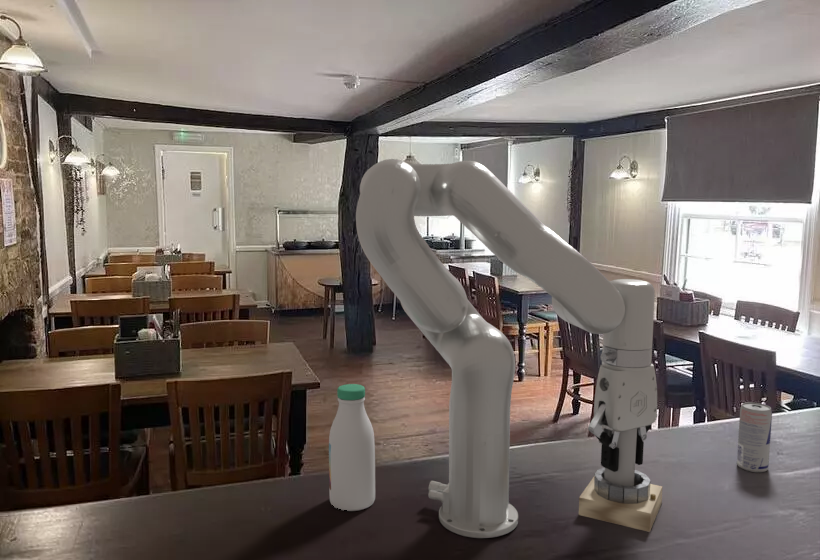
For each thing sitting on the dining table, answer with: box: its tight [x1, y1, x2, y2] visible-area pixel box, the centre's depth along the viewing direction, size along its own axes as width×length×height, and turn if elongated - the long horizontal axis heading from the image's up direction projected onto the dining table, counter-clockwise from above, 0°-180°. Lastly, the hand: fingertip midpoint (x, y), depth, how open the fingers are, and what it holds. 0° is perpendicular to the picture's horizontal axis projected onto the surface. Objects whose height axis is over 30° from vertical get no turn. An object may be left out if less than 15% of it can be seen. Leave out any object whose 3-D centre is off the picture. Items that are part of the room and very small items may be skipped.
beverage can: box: [604, 428, 637, 486], centre depth 106 cm, size 5×5×12 cm
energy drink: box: [736, 401, 773, 473], centre depth 123 cm, size 5×5×12 cm
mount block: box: [578, 475, 663, 533], centre depth 107 cm, size 11×11×4 cm
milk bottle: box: [328, 383, 376, 512], centre depth 109 cm, size 8×8×20 cm
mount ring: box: [593, 467, 652, 504], centre depth 107 cm, size 8×8×2 cm
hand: (621, 464), depth 106 cm, fingers closed on beverage can, 4 cm apart
